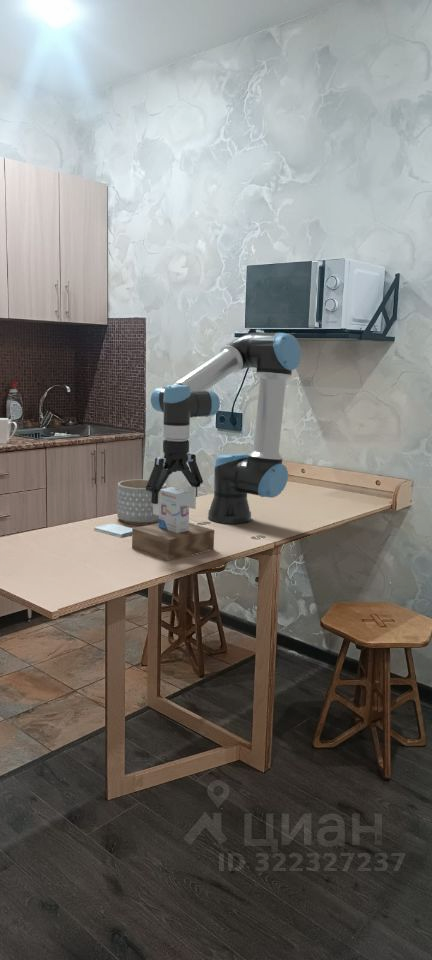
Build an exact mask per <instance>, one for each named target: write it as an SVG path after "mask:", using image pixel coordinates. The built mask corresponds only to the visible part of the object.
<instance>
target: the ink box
mask: <svg viewBox="0 0 432 960" xmlns="http://www.w3.org/2000/svg"><path fill="white" fill-rule="evenodd" d="M159 492H160V493H161V515H160V516H159V522H158V523H159V528H162V529H165V530H169V531H172V532H175V533H180V532H185V531H188V530H189V523H190V521H189V520H190V508H189V492H188V490H184V489H181V488H178V487H173V486H169V487H166V488H165V489H161V490H160V491H159Z"/></svg>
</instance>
